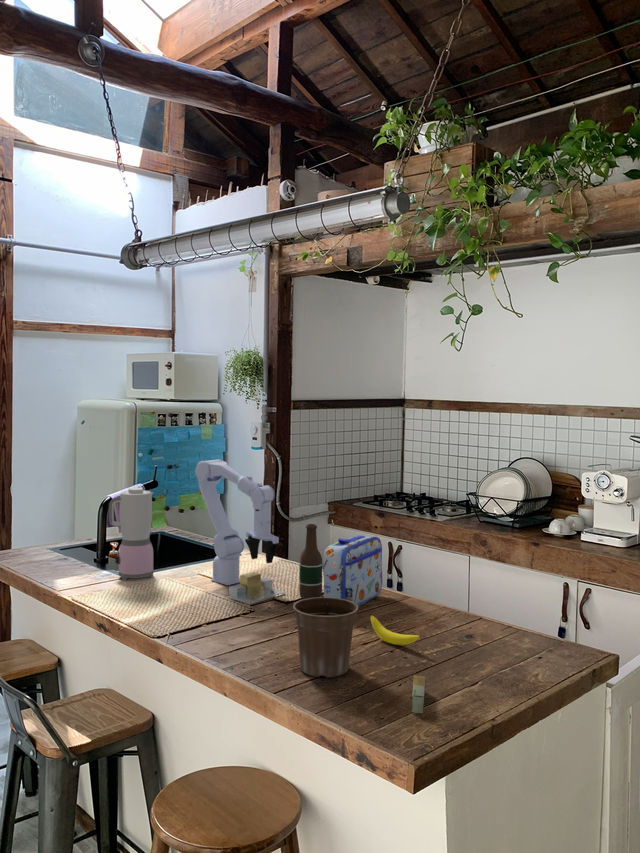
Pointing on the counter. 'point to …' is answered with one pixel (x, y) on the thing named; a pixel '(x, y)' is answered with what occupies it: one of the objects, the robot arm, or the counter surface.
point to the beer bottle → (310, 566)
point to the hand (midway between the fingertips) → (261, 560)
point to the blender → (134, 533)
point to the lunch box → (353, 569)
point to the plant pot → (325, 635)
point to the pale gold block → (251, 582)
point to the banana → (391, 634)
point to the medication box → (418, 694)
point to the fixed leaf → (266, 593)
